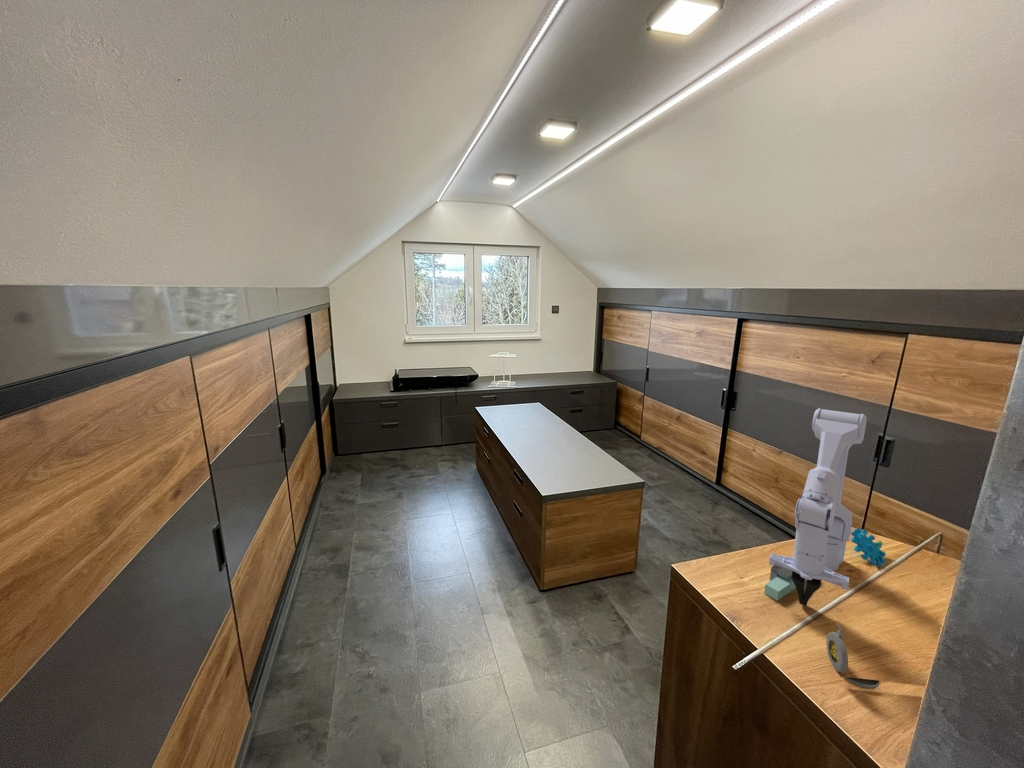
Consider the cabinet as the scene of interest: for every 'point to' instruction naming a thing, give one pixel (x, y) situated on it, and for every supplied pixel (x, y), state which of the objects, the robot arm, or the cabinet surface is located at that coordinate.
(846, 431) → the robot arm
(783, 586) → the latch bar
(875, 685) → the pocket watch
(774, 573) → the block
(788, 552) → the cabinet surface
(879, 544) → the gear
